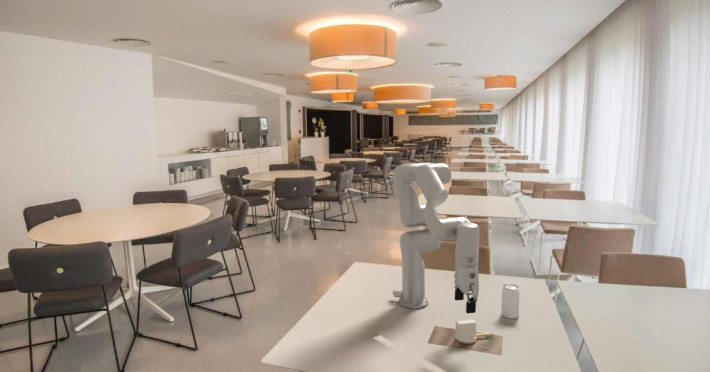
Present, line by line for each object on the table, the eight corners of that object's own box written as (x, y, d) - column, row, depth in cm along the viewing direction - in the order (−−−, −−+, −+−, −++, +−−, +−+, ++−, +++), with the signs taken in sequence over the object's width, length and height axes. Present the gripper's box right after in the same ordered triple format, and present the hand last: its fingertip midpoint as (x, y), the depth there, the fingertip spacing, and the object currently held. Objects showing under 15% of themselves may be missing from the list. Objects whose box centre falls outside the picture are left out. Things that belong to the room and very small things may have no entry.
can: (520, 319, 164) (521, 290, 162) (502, 318, 165) (503, 289, 163) (517, 312, 170) (518, 284, 168) (500, 311, 171) (501, 283, 170)
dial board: (427, 346, 146) (427, 342, 145) (434, 329, 158) (434, 325, 157) (501, 359, 137) (501, 354, 137) (502, 340, 149) (502, 335, 149)
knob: (460, 344, 143) (460, 327, 142) (452, 334, 150) (452, 318, 149) (497, 340, 145) (497, 323, 144) (487, 330, 152) (488, 314, 151)
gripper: (488, 267, 135) (486, 317, 138) (466, 250, 152) (464, 294, 155) (466, 269, 134) (464, 319, 137) (446, 251, 151) (445, 296, 154)
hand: (464, 306), depth 146 cm, fingers open, 9 cm apart
